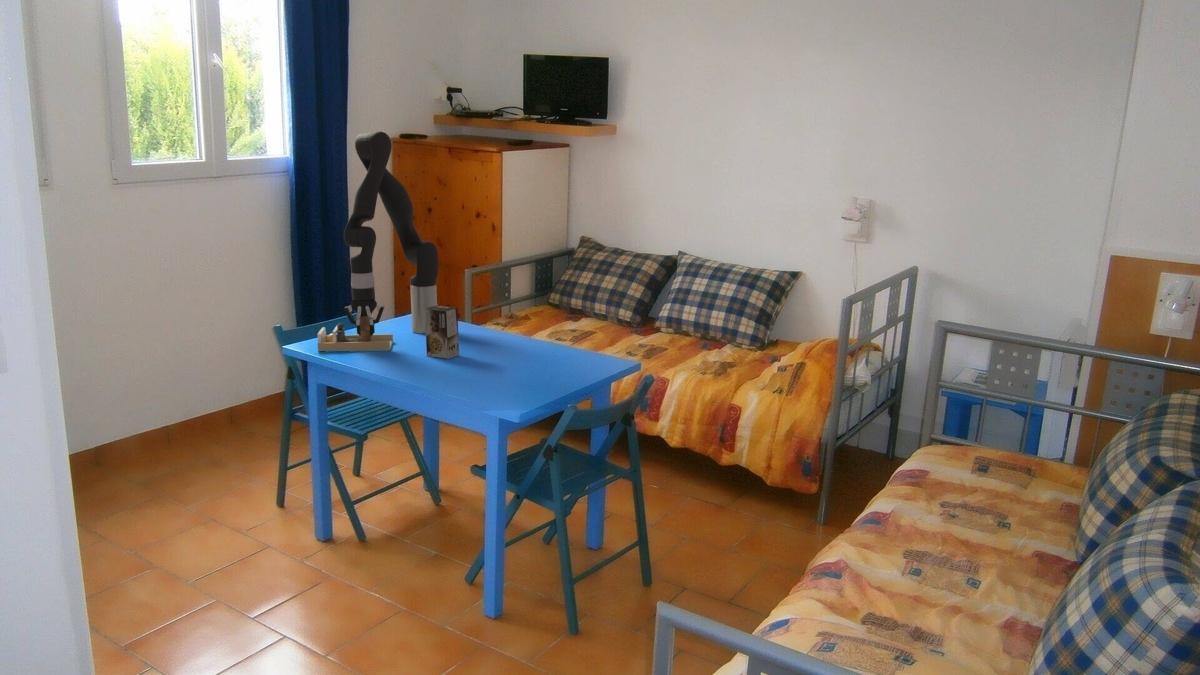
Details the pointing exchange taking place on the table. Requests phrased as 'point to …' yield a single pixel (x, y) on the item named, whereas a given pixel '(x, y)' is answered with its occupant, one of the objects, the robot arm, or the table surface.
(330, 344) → the tan tray
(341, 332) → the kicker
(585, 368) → the table surface
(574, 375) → the table surface
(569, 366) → the table surface
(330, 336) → the ball
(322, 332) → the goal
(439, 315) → the coffee box
